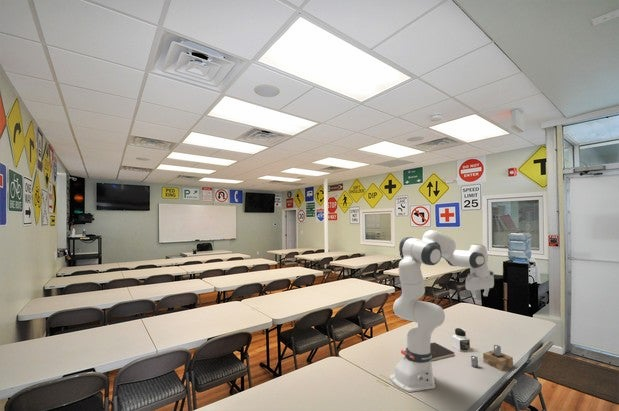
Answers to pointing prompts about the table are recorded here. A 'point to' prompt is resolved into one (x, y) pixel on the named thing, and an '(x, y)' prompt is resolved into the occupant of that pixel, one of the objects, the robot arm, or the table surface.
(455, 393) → the table surface
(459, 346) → the medicine bottle
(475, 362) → the short pin
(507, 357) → the hole block
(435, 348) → the hardcover book
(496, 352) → the long pin
